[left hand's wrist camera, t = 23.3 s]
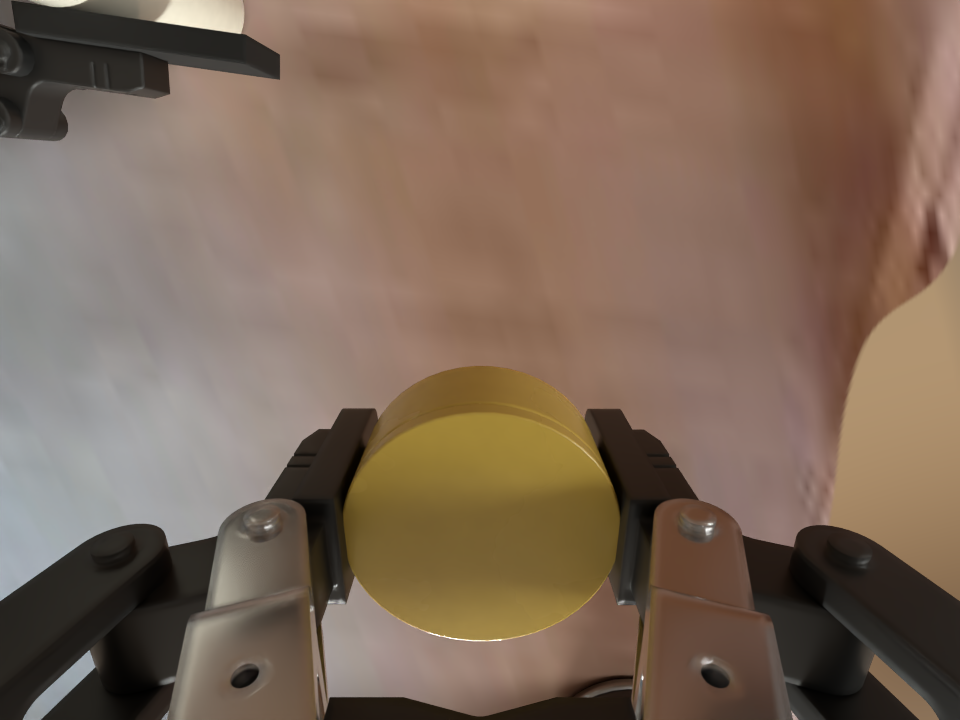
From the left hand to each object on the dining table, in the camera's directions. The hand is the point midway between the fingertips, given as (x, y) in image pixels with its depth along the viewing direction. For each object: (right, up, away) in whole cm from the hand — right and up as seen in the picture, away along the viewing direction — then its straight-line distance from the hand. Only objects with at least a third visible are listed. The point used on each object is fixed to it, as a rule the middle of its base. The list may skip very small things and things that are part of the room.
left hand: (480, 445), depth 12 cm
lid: (0, -1, -3) cm, 3 cm away
